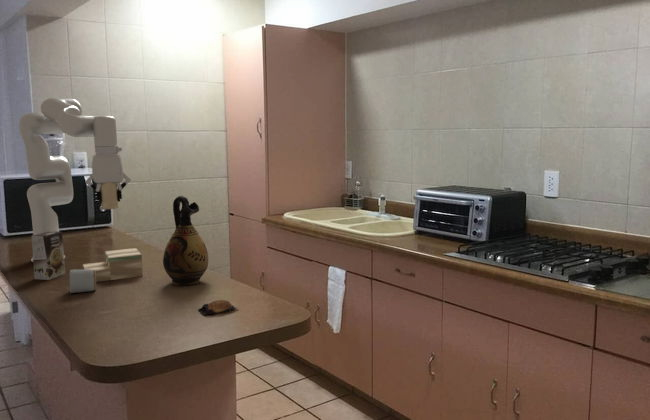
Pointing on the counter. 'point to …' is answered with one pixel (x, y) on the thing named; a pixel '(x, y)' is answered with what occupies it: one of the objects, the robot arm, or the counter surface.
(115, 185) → the candle
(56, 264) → the coffee box
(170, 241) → the painted pottery vase
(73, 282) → the ceramic mug
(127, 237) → the counter surface
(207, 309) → the turtle figurine
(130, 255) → the step stand
